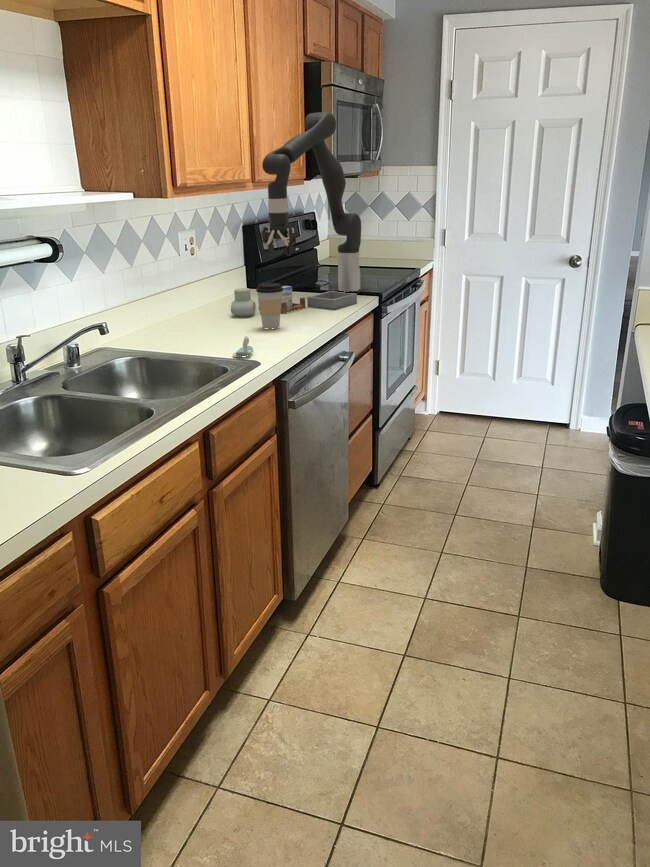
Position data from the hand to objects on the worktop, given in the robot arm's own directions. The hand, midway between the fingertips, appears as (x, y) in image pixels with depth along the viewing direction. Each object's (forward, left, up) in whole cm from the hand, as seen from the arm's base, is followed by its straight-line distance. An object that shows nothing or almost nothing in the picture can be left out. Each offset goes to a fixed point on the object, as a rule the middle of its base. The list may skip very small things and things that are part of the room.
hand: (280, 255), depth 274 cm
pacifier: (+62, +36, -21) cm, 75 cm away
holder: (0, 0, -21) cm, 21 cm away
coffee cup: (+28, +18, -21) cm, 39 cm away
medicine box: (0, 0, -21) cm, 21 cm away
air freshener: (+17, -5, -21) cm, 28 cm away
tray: (-17, +13, -21) cm, 29 cm away
